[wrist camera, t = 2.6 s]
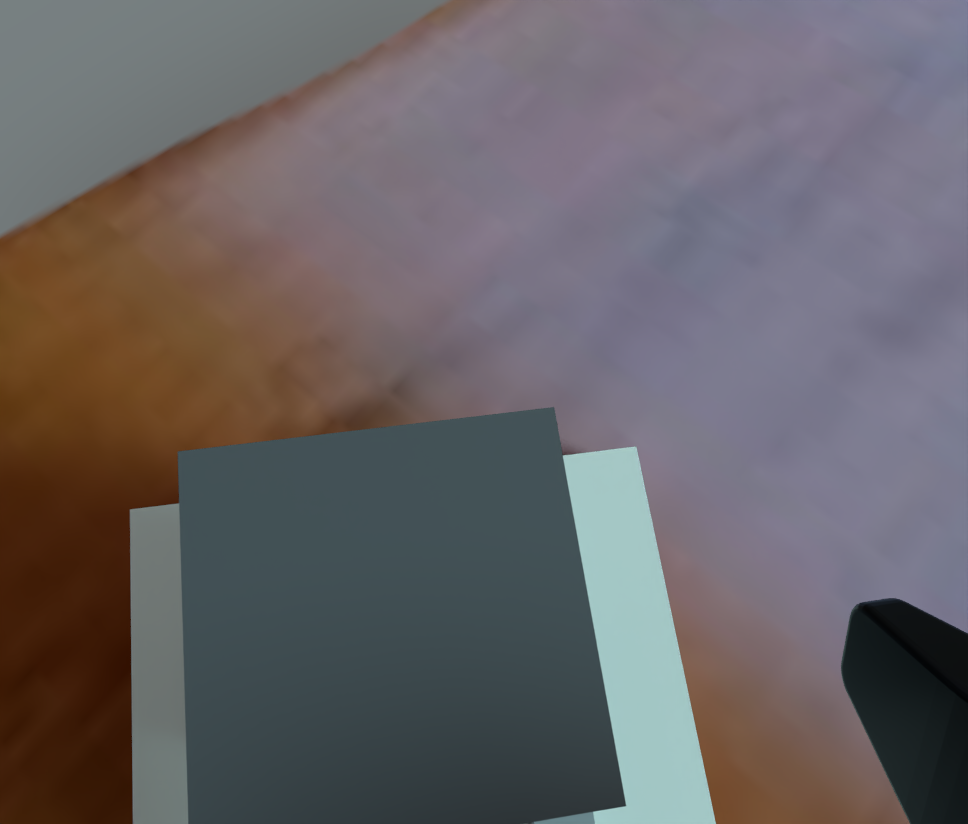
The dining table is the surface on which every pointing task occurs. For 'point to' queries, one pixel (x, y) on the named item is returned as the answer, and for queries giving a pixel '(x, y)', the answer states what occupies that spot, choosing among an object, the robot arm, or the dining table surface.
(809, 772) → the dining table surface
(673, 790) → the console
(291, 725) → the fader
